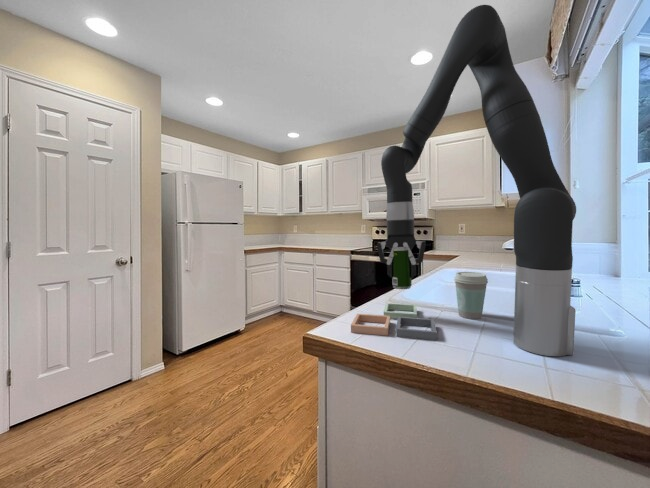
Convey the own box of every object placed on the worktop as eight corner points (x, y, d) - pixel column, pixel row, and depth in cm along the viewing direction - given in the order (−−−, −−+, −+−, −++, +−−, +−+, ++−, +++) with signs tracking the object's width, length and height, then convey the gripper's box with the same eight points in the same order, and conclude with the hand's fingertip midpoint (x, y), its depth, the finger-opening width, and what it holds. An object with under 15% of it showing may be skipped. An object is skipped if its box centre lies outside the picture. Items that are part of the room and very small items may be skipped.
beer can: (402, 290, 77) (401, 247, 77) (388, 287, 82) (387, 246, 81) (415, 287, 80) (414, 245, 80) (401, 284, 85) (400, 245, 84)
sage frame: (416, 310, 85) (416, 304, 85) (417, 320, 77) (417, 314, 76) (386, 308, 88) (386, 302, 88) (383, 318, 79) (383, 311, 79)
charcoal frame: (433, 325, 73) (433, 319, 72) (436, 340, 64) (436, 332, 64) (397, 323, 75) (397, 316, 75) (396, 336, 67) (396, 329, 66)
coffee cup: (456, 309, 86) (457, 270, 85) (488, 314, 81) (489, 273, 80) (450, 317, 79) (451, 275, 78) (485, 323, 74) (486, 278, 73)
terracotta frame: (390, 322, 76) (390, 316, 76) (387, 335, 67) (387, 328, 67) (357, 319, 78) (357, 313, 78) (350, 332, 70) (350, 325, 70)
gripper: (425, 217, 81) (427, 275, 82) (376, 220, 86) (377, 274, 87) (427, 217, 74) (428, 280, 75) (373, 219, 78) (375, 279, 79)
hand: (401, 277), depth 81 cm, fingers closed on beer can, 5 cm apart
